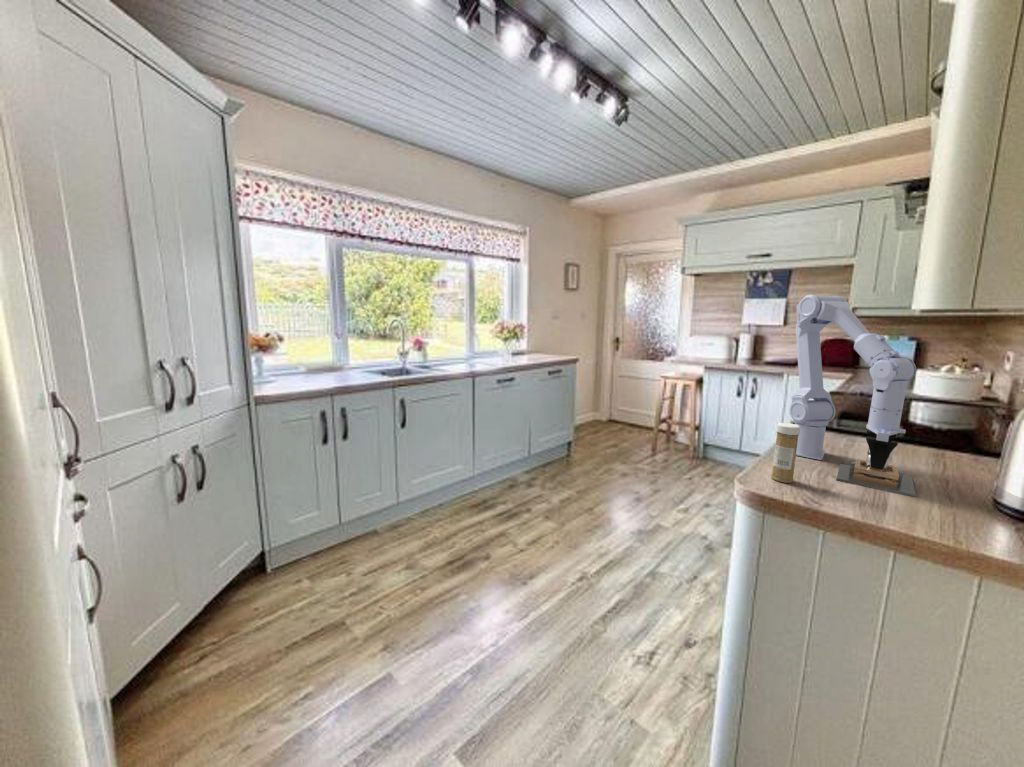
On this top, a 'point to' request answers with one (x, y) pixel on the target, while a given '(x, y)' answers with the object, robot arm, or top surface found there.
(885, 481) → the collar stand
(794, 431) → the sprinkles bottle
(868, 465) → the metal cylinder
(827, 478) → the top surface
